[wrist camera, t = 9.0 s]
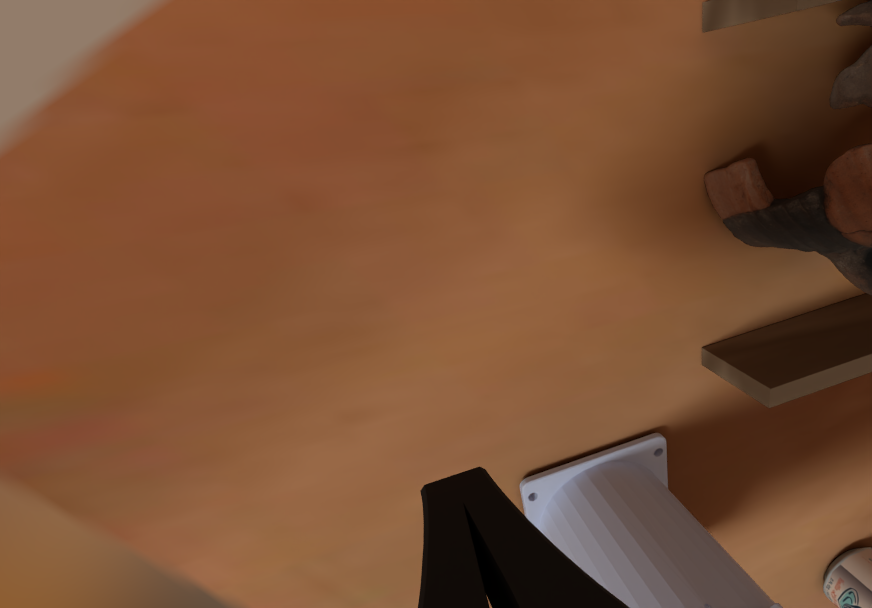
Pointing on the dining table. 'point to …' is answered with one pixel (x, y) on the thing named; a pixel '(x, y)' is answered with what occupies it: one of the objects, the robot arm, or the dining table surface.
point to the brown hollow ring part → (812, 190)
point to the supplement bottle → (850, 579)
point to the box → (803, 335)
